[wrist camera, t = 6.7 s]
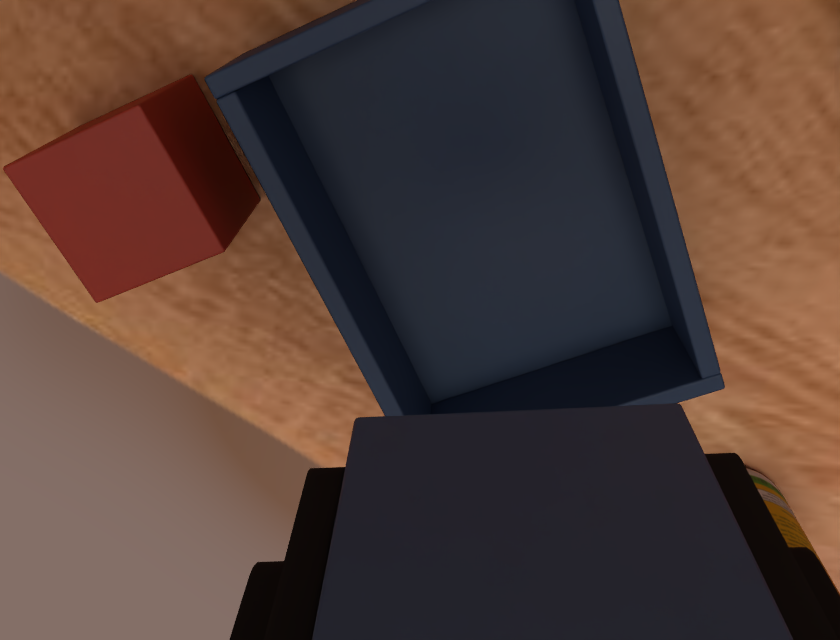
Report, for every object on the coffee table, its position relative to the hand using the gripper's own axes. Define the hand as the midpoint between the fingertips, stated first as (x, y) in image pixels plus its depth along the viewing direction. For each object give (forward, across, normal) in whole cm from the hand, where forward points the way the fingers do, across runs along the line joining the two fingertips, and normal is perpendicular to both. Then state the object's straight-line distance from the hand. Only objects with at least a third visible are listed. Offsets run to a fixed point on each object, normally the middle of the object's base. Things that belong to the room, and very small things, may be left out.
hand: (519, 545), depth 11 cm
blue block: (0, 0, 0) cm, 0 cm away
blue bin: (+15, 0, 0) cm, 15 cm away
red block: (+15, +10, -2) cm, 18 cm away
